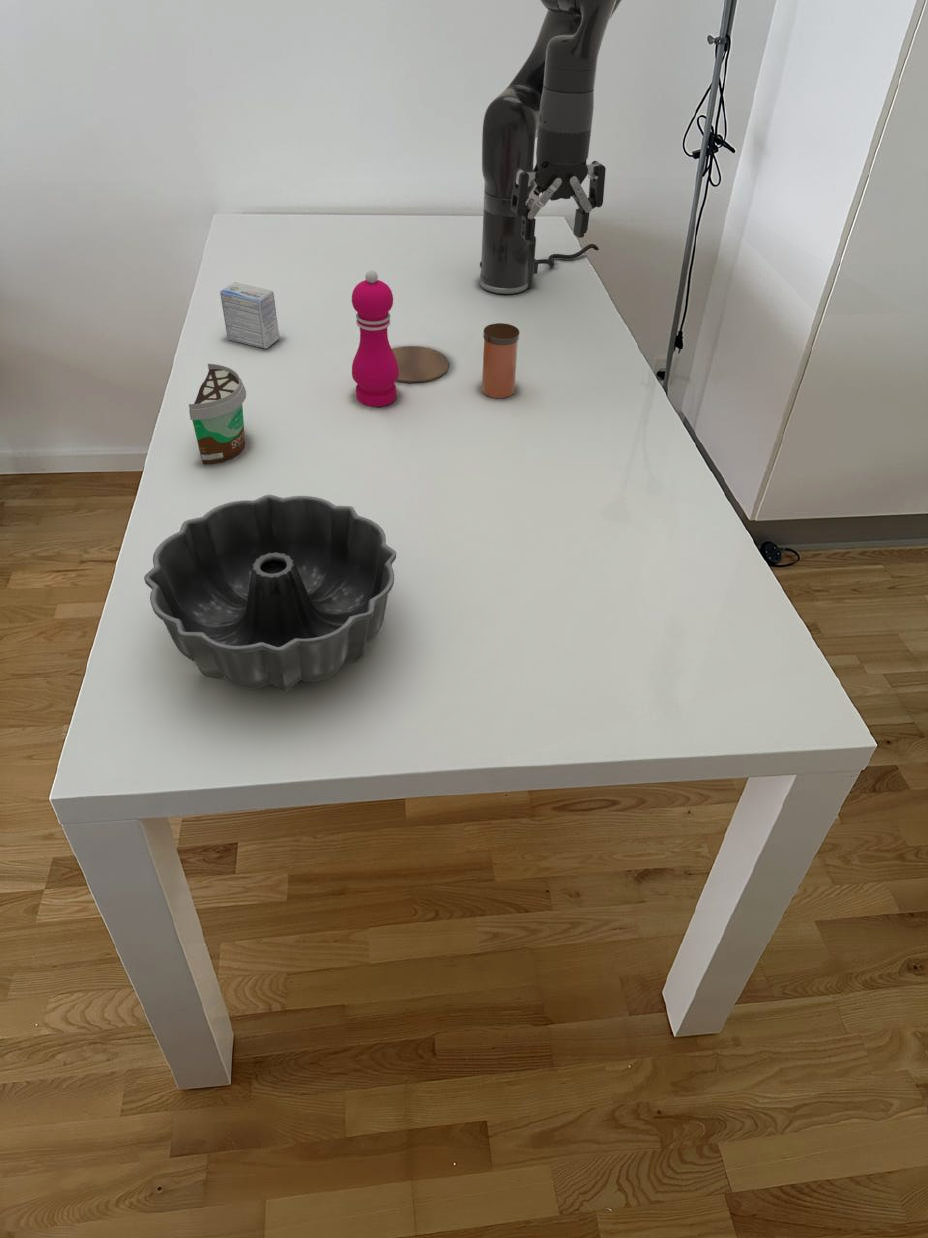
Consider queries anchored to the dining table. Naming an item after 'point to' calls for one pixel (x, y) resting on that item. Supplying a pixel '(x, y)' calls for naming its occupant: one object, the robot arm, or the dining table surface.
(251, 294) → the medicine box
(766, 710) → the dining table surface
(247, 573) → the bundt pan
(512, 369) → the spice jar
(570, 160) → the robot arm
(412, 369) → the cork coaster
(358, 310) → the pepper mill
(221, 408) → the food container
